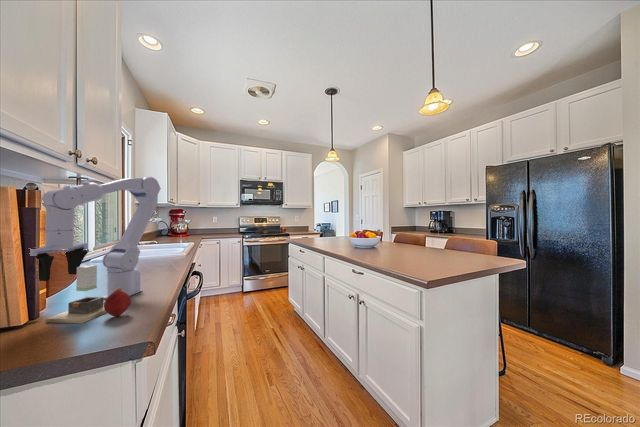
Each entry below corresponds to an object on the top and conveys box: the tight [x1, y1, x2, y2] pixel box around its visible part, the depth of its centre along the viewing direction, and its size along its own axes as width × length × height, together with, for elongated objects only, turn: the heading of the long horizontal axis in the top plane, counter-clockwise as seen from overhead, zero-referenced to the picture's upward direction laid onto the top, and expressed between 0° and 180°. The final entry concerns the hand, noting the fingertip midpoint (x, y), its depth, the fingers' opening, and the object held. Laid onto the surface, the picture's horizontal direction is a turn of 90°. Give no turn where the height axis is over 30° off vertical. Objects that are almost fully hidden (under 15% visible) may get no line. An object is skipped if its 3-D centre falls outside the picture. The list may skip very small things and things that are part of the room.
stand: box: [45, 296, 108, 324], centre depth 71 cm, size 12×10×4 cm
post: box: [75, 264, 98, 292], centre depth 72 cm, size 3×3×7 cm
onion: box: [103, 288, 132, 317], centre depth 70 cm, size 6×6×8 cm
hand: (59, 277), depth 72 cm, fingers open, 7 cm apart
